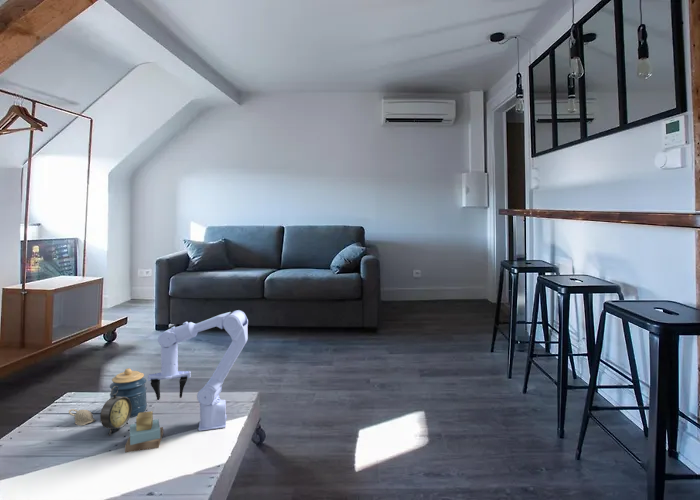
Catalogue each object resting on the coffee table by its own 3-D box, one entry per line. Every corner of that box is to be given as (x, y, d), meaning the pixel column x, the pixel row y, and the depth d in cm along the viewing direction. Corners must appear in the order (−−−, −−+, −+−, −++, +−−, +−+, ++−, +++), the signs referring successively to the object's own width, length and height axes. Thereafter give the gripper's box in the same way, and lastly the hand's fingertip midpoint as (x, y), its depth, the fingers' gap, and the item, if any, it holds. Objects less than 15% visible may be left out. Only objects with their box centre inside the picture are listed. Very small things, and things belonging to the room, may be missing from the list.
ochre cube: (152, 423, 142) (152, 411, 142) (150, 429, 138) (150, 416, 138) (138, 425, 141) (138, 412, 141) (136, 431, 137) (136, 418, 136)
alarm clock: (110, 437, 143) (109, 392, 142) (97, 436, 144) (96, 391, 143) (133, 423, 154) (132, 381, 153) (120, 422, 155) (119, 380, 154)
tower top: (158, 427, 146) (158, 418, 146) (160, 438, 138) (160, 429, 138) (130, 433, 141) (129, 424, 141) (130, 445, 134) (129, 436, 133)
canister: (145, 402, 172) (144, 361, 172) (148, 414, 161) (147, 370, 160) (110, 409, 166) (108, 366, 165) (110, 422, 155) (109, 376, 154)
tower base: (163, 435, 146) (163, 427, 146) (158, 449, 136) (158, 440, 136) (132, 439, 143) (132, 431, 143) (125, 454, 133) (125, 445, 133)
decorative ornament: (88, 425, 152) (88, 411, 152) (67, 425, 152) (66, 411, 152) (96, 420, 156) (95, 407, 156) (75, 420, 156) (74, 406, 156)
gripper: (145, 367, 145) (146, 404, 146) (189, 363, 149) (189, 400, 150) (149, 360, 152) (150, 396, 153) (191, 357, 156) (191, 392, 157)
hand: (169, 397), depth 152 cm, fingers open, 7 cm apart
